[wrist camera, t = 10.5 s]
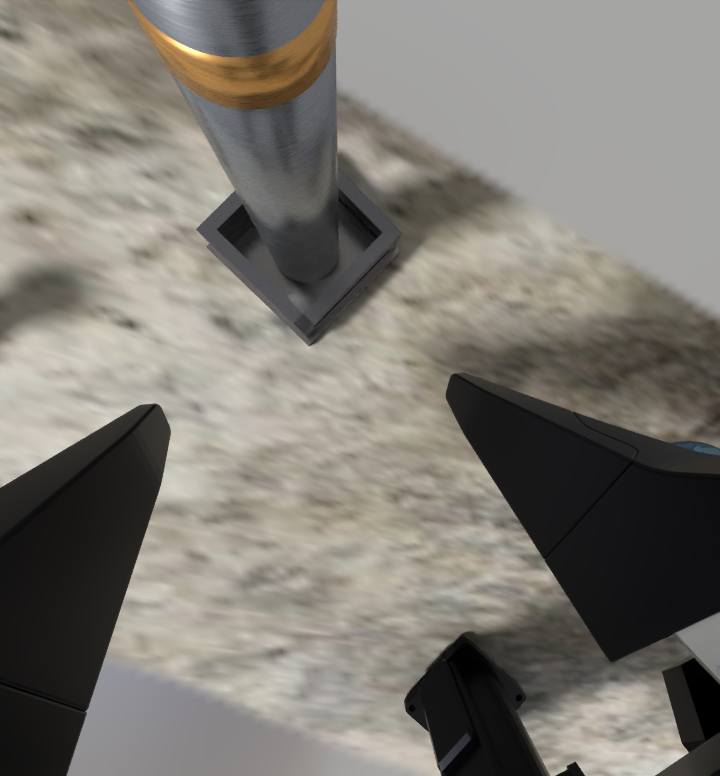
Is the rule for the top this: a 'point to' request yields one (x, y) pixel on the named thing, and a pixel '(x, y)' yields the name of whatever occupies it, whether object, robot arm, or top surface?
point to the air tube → (264, 111)
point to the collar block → (306, 299)
